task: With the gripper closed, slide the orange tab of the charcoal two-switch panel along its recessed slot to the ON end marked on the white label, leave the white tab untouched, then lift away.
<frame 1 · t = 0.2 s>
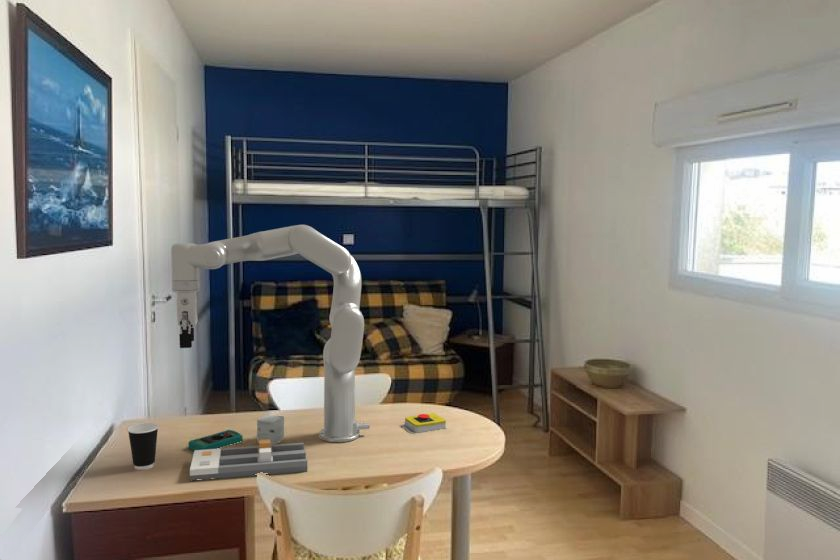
hand: (187, 344, 186), 31 cm above the table, tool pointing down, fingers open, 9 cm apart
digital multimeter: (216, 446, 191), on the table
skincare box: (270, 441, 195), on the table
dixie cup: (144, 467, 174), on the table
tab white: (265, 456, 173), point 4 cm above the table, slide at 0.0 cm
switch panel: (250, 466, 175), on the table
emergency button: (426, 428, 211), on the table
tab orange: (264, 447, 179), point 4 cm above the table, slide at 0.0 cm
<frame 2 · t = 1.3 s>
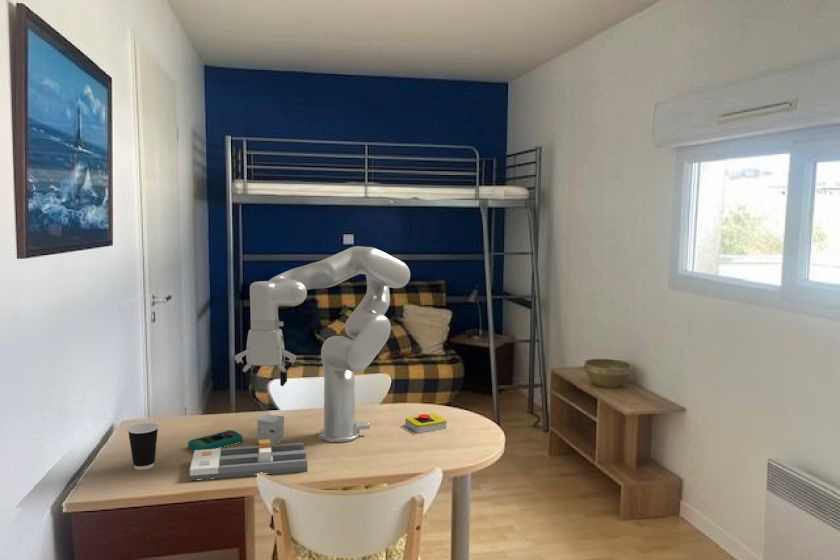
hand: (266, 384, 181), 21 cm above the table, tool pointing down, fingers open, 9 cm apart
nothing on the table moved.
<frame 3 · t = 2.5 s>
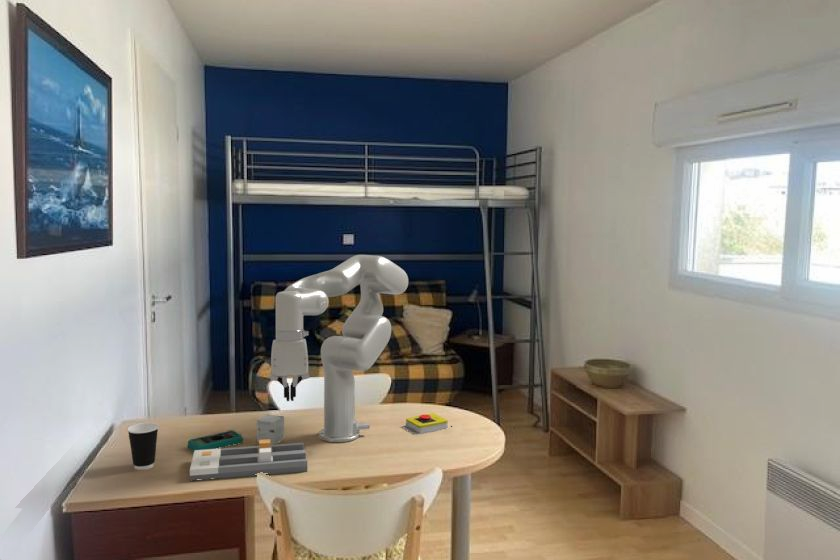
hand: (289, 399, 180), 17 cm above the table, tool pointing down, fingers closed
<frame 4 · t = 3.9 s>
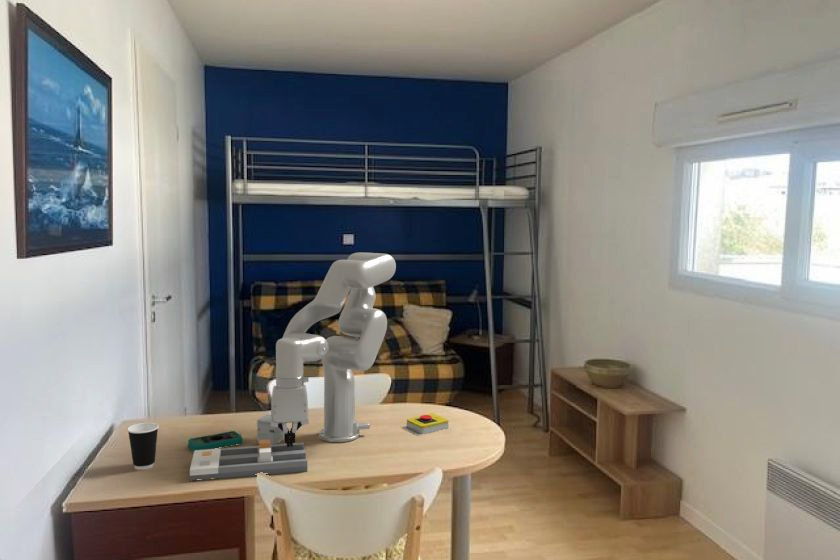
hand: (289, 445, 181), 4 cm above the table, tool pointing down, fingers closed
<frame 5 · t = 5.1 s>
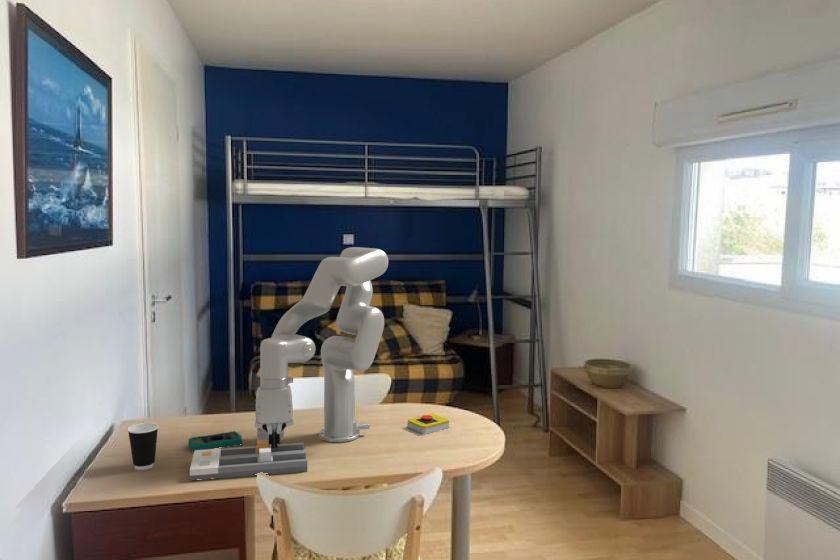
hand: (274, 446, 180), 4 cm above the table, tool pointing down, fingers closed
tab orange: (262, 447, 179), point 4 cm above the table, slide at 0.7 cm, touching gripper
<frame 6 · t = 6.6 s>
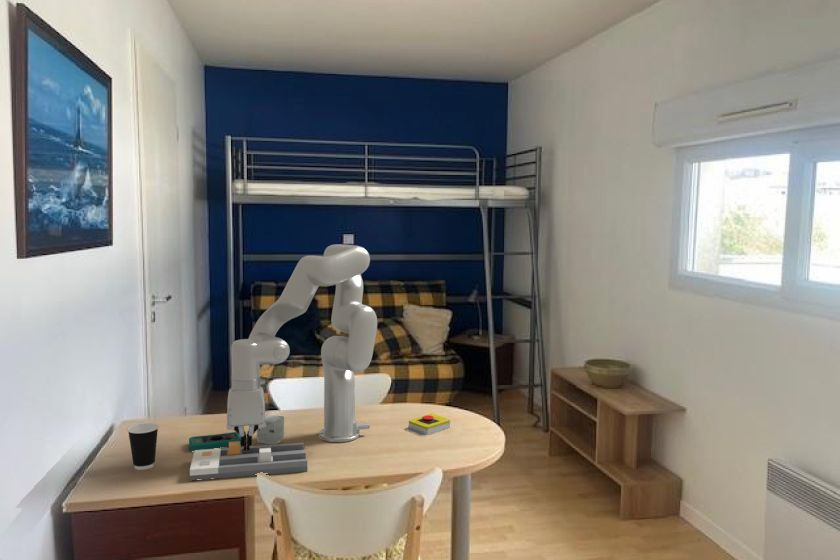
hand: (246, 448, 178), 4 cm above the table, tool pointing down, fingers closed
tab orange: (234, 449, 177), point 4 cm above the table, slide at 8.2 cm, touching gripper
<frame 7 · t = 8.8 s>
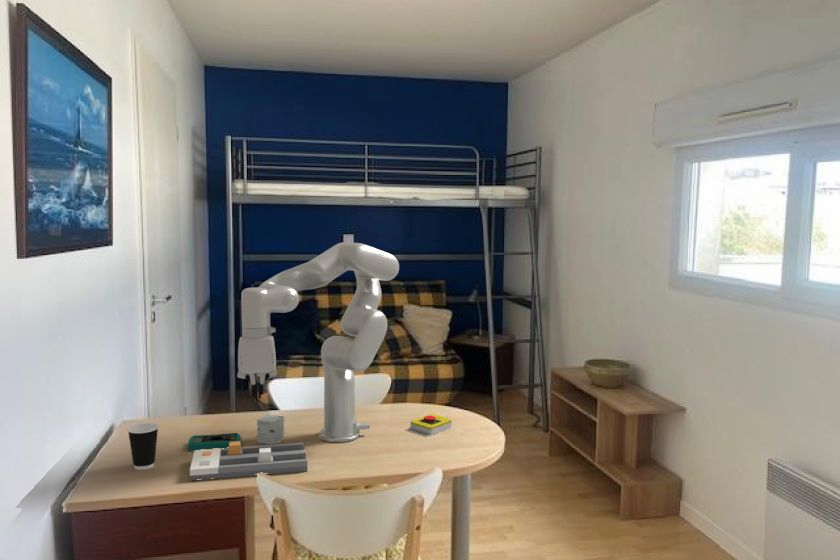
hand: (258, 397, 178), 18 cm above the table, tool pointing down, fingers closed
tab orange: (235, 449, 177), point 4 cm above the table, slide at 8.1 cm
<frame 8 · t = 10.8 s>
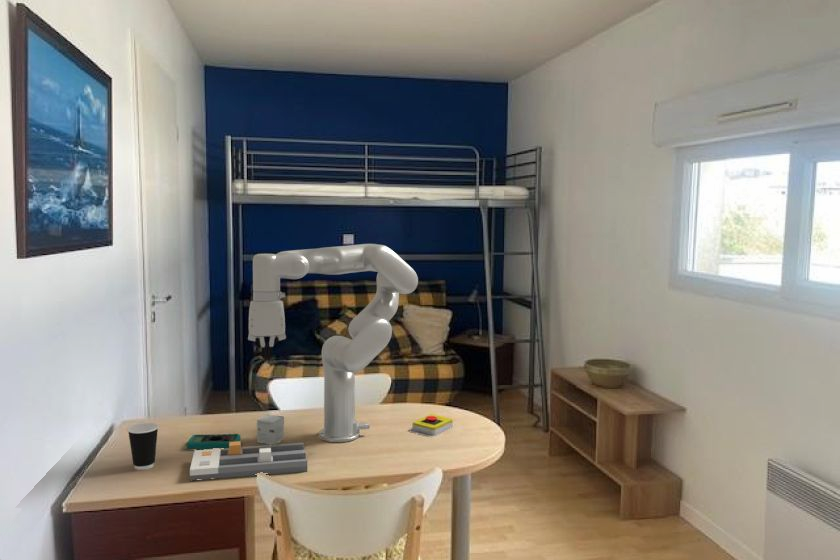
hand: (267, 359, 185), 27 cm above the table, tool pointing down, fingers closed
at the end: tab orange slide at 8.1 cm; tab white slide at 0.0 cm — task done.
